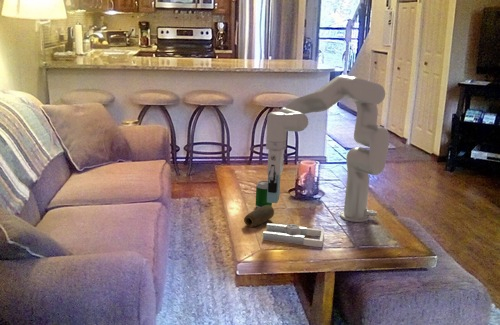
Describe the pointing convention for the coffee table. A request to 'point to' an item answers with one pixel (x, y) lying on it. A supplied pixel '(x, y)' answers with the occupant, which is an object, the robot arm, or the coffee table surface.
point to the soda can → (261, 194)
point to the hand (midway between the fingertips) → (273, 189)
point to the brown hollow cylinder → (259, 216)
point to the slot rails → (277, 234)
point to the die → (292, 229)
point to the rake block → (274, 196)
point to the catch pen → (314, 241)
